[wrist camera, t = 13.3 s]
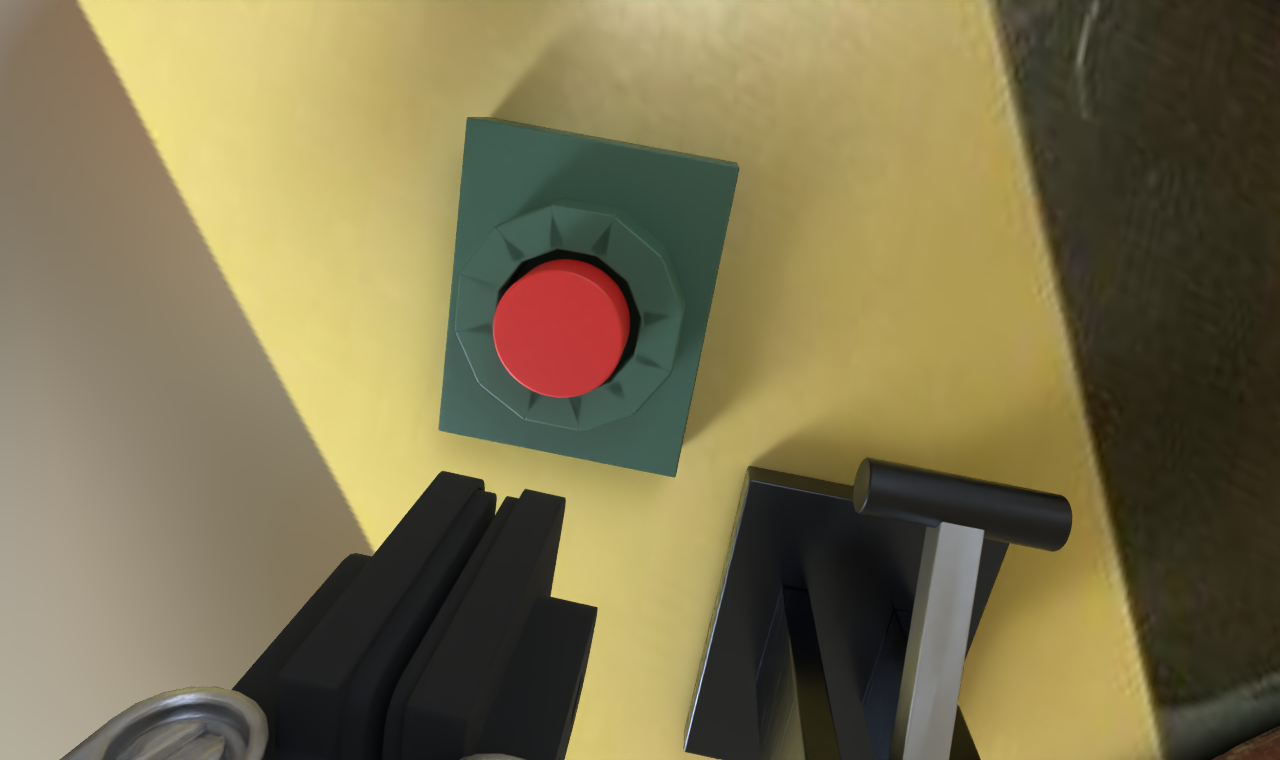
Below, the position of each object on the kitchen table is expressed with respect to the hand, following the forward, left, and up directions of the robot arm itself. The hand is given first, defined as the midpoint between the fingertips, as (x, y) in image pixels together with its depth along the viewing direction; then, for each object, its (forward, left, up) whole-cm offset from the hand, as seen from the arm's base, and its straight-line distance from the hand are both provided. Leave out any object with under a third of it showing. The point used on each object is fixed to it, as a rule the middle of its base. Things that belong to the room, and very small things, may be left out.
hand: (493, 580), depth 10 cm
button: (0, -1, -13) cm, 13 cm away
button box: (0, -1, -17) cm, 17 cm away
